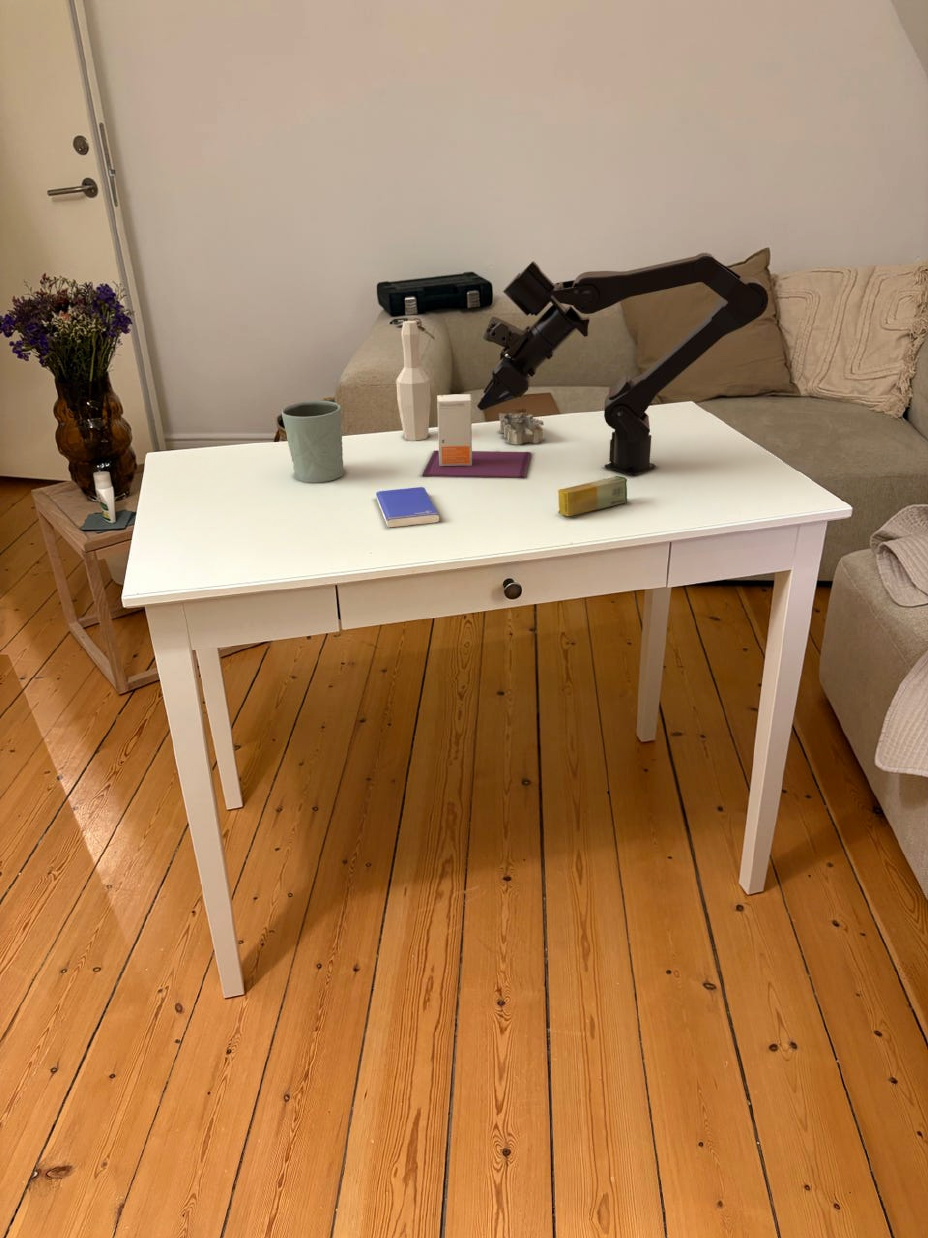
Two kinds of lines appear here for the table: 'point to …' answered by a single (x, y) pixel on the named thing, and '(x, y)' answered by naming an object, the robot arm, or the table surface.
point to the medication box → (592, 496)
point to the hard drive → (407, 507)
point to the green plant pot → (315, 440)
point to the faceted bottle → (413, 387)
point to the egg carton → (521, 428)
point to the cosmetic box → (454, 430)
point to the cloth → (483, 465)
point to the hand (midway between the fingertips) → (482, 400)
